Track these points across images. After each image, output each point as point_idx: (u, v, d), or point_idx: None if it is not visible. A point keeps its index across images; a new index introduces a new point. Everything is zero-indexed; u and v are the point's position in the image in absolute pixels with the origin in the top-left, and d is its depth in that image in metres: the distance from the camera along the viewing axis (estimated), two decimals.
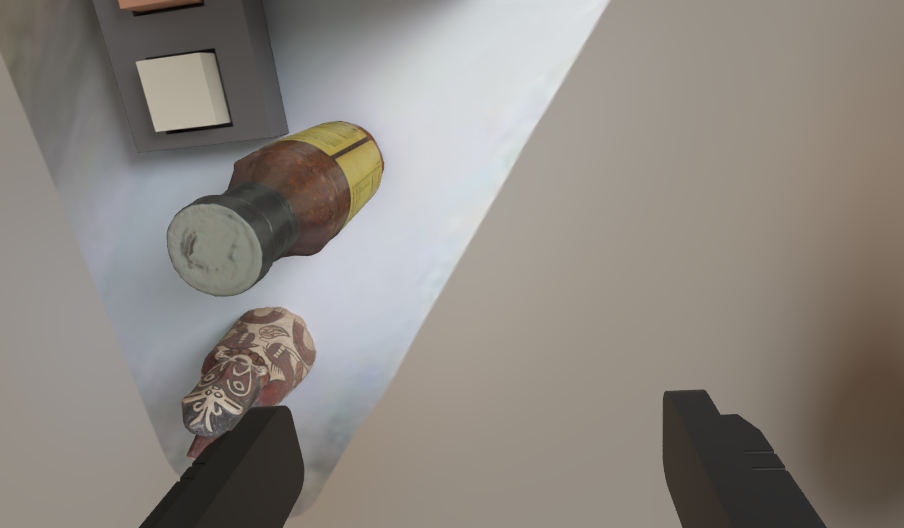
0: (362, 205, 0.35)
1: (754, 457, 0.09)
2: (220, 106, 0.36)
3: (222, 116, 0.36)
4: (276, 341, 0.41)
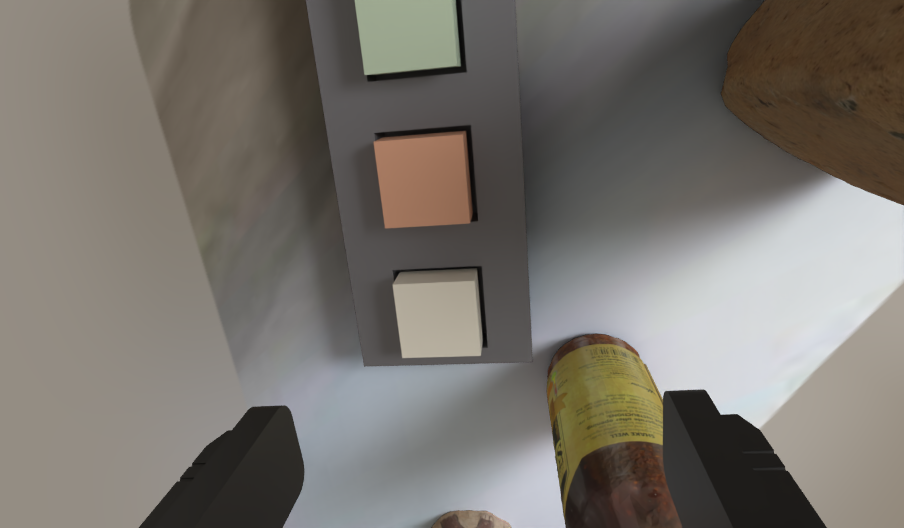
0: None
1: (754, 457, 0.09)
2: (480, 329, 0.30)
3: (481, 341, 0.31)
4: None
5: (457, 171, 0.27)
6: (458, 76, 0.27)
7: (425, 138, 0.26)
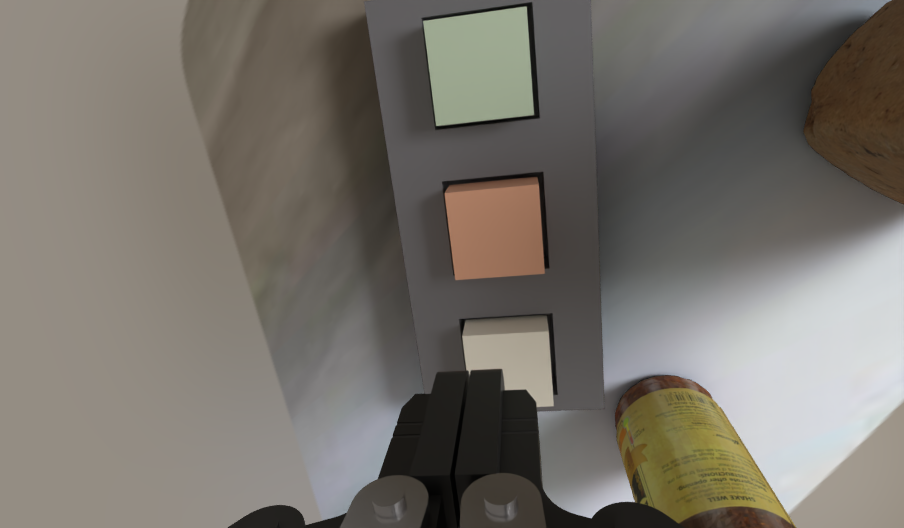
0: None
1: (518, 423, 0.11)
2: None
3: None
4: None
5: (532, 221, 0.26)
6: (531, 122, 0.26)
7: (499, 189, 0.25)
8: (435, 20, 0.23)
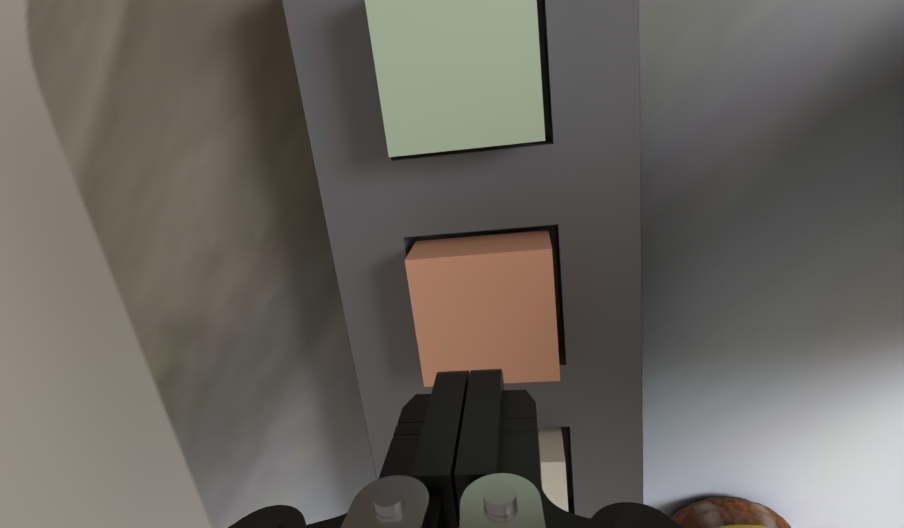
0: None
1: (518, 423, 0.11)
2: None
3: None
4: None
5: (541, 304, 0.16)
6: (539, 150, 0.16)
7: (489, 255, 0.16)
8: None
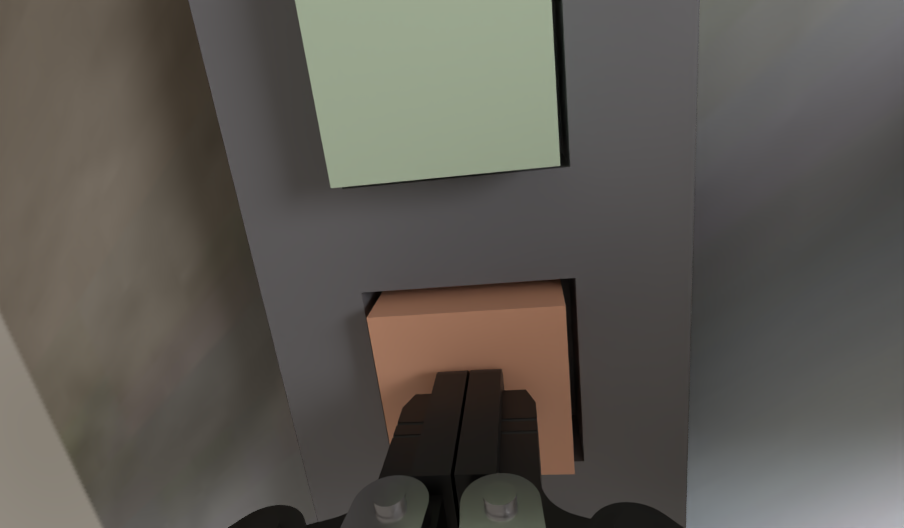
0: None
1: (518, 423, 0.11)
2: None
3: None
4: None
5: (551, 377, 0.12)
6: (550, 176, 0.12)
7: (481, 312, 0.12)
8: None
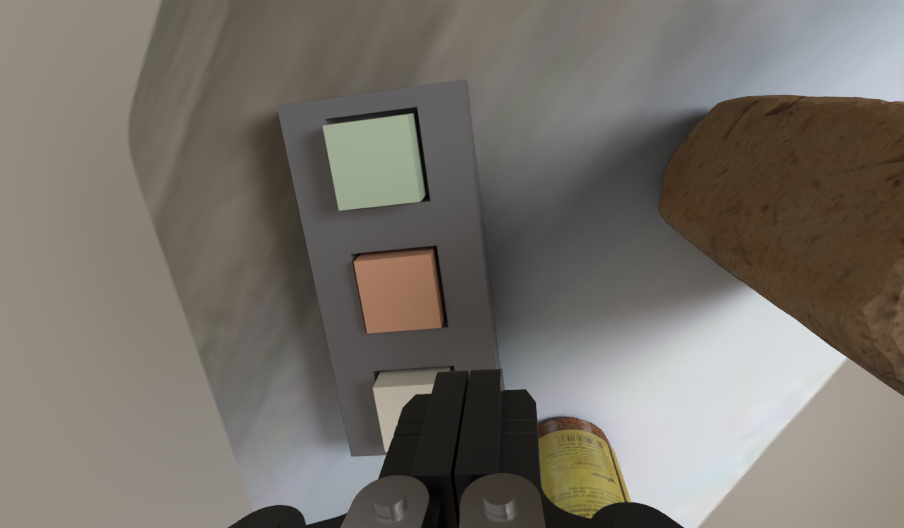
0: None
1: (518, 423, 0.11)
2: None
3: None
4: None
5: (427, 284, 0.30)
6: (423, 205, 0.30)
7: (398, 258, 0.30)
8: (332, 125, 0.27)
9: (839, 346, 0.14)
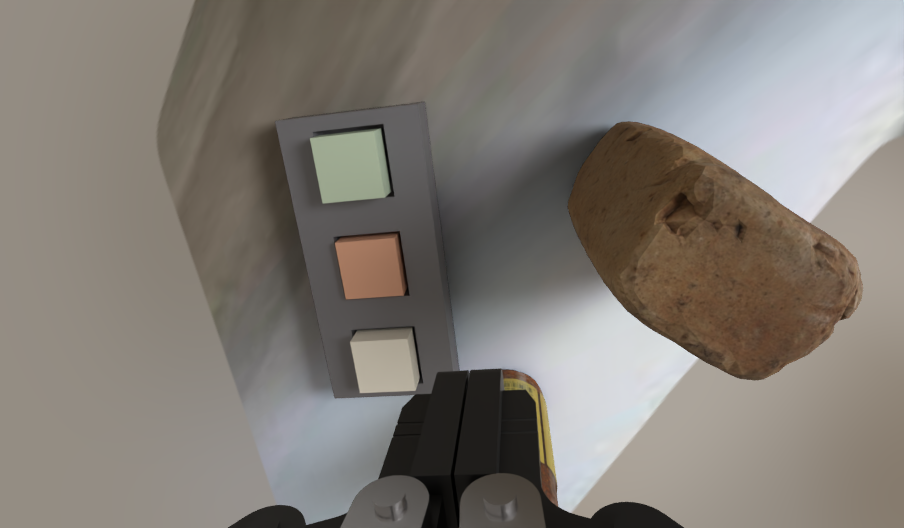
0: None
1: (518, 423, 0.11)
2: (415, 371, 0.42)
3: (417, 379, 0.42)
4: None
5: (392, 261, 0.39)
6: (389, 199, 0.38)
7: (369, 240, 0.39)
8: (317, 138, 0.36)
9: (617, 299, 0.22)
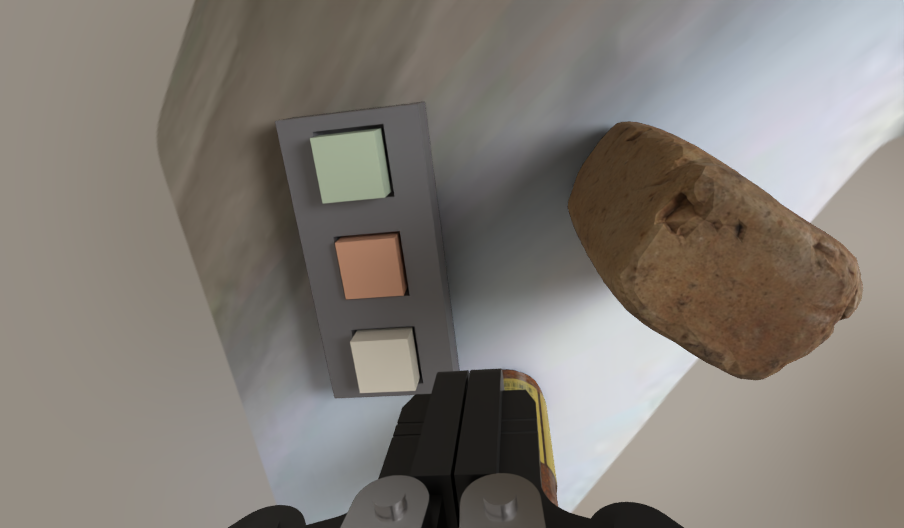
0: None
1: (518, 423, 0.11)
2: (415, 371, 0.42)
3: (417, 379, 0.42)
4: None
5: (392, 261, 0.39)
6: (389, 199, 0.38)
7: (369, 240, 0.39)
8: (317, 138, 0.36)
9: None
